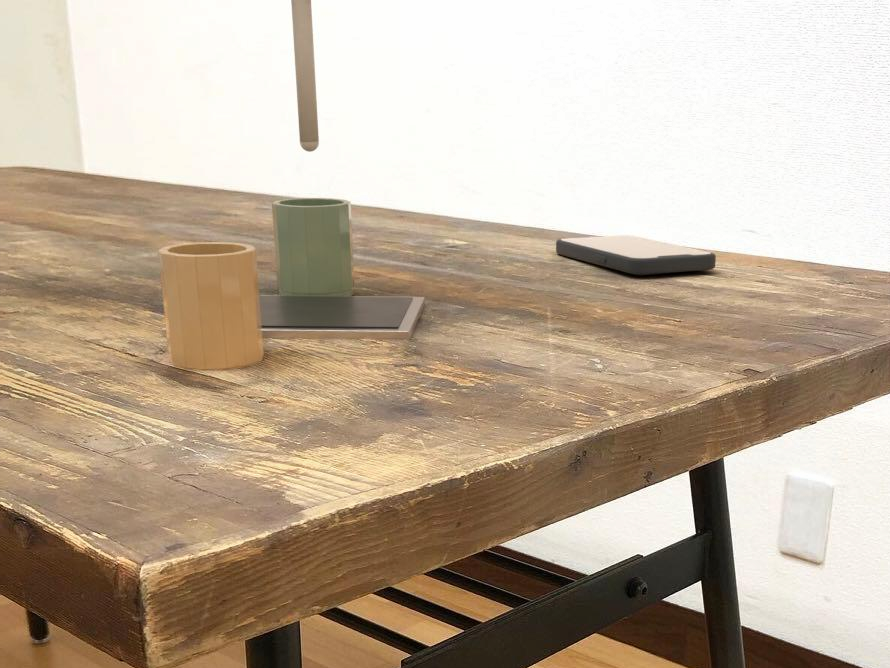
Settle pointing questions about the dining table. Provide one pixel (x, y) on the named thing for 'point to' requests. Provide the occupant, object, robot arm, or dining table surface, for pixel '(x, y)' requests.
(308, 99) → the stylus
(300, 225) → the pen cup
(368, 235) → the dining table surface
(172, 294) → the pen stand
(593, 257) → the phone case
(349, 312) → the tablet
